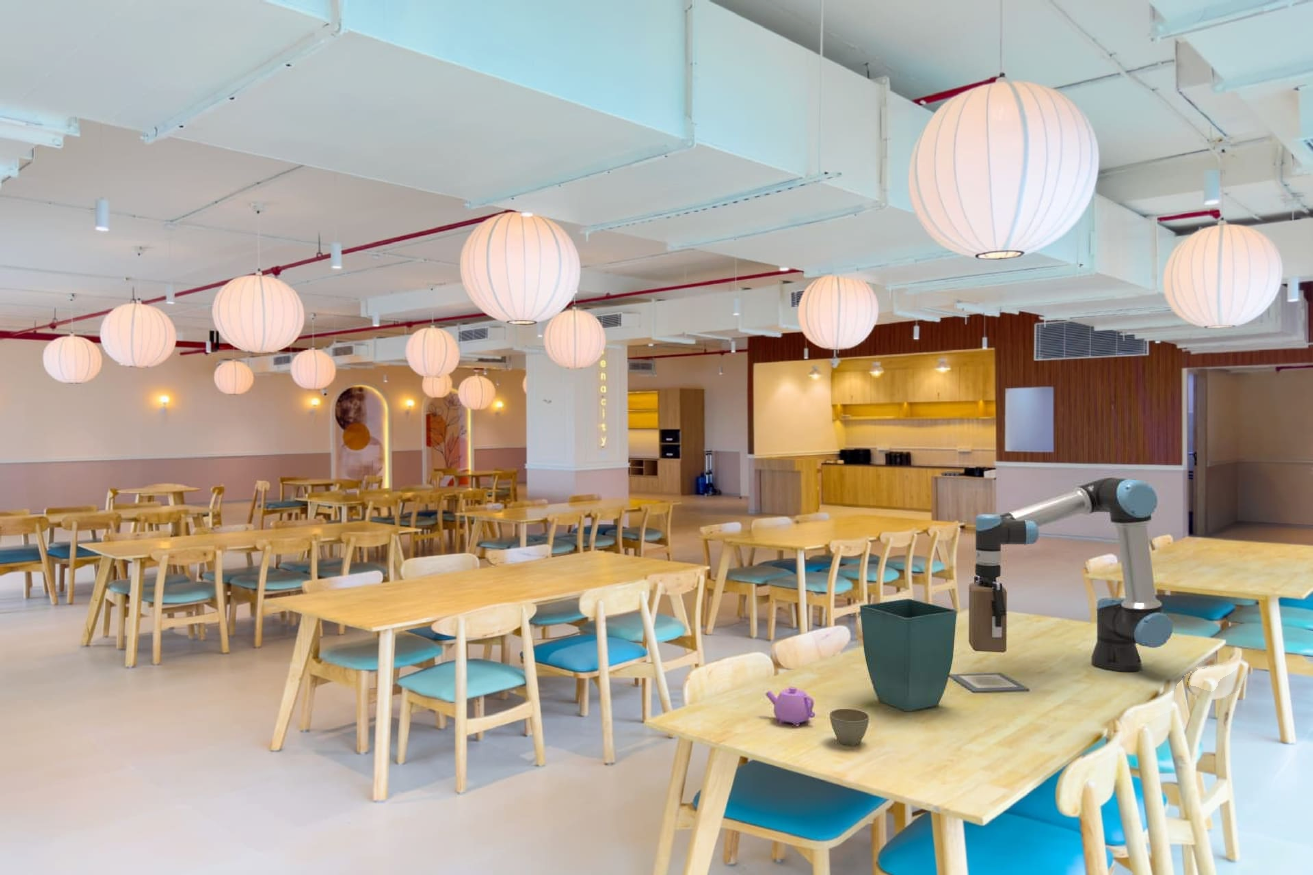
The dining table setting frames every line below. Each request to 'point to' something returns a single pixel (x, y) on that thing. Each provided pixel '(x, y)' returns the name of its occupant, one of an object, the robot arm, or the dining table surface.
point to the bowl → (849, 725)
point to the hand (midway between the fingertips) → (987, 632)
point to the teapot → (792, 705)
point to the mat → (988, 682)
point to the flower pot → (908, 651)
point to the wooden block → (985, 620)
